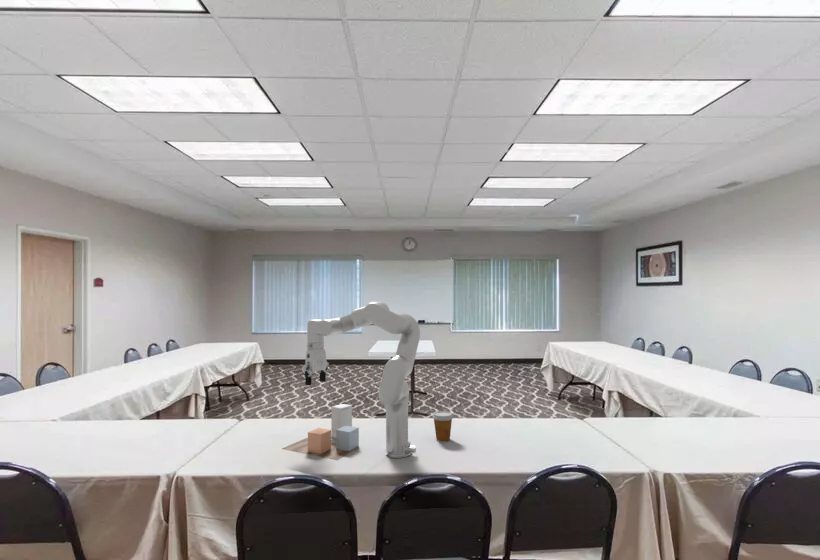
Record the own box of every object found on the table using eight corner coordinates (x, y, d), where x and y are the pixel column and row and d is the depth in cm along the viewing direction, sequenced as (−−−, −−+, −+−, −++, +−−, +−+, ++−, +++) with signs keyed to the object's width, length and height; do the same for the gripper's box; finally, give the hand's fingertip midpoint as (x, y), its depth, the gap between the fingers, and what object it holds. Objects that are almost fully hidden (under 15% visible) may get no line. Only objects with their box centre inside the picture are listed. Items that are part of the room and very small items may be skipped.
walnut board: (359, 451, 182) (359, 447, 182) (337, 463, 168) (337, 460, 168) (306, 441, 196) (306, 437, 196) (281, 452, 182) (281, 448, 182)
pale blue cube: (358, 446, 184) (358, 427, 185) (349, 451, 178) (349, 432, 179) (345, 443, 188) (345, 425, 188) (336, 448, 181) (336, 429, 182)
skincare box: (339, 442, 194) (339, 408, 194) (330, 439, 198) (330, 406, 198) (352, 437, 200) (352, 404, 201) (343, 435, 204) (343, 403, 205)
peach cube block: (331, 448, 181) (331, 429, 182) (320, 453, 175) (320, 434, 175) (318, 446, 184) (318, 427, 185) (307, 451, 178) (307, 432, 179)
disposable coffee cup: (453, 436, 201) (452, 411, 202) (453, 443, 192) (452, 416, 192) (433, 435, 202) (433, 410, 203) (432, 442, 192) (432, 416, 193)
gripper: (308, 348, 185) (308, 387, 184) (333, 344, 200) (333, 380, 199) (296, 347, 188) (296, 386, 188) (321, 344, 204) (321, 379, 203)
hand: (315, 383), depth 193 cm, fingers open, 9 cm apart
